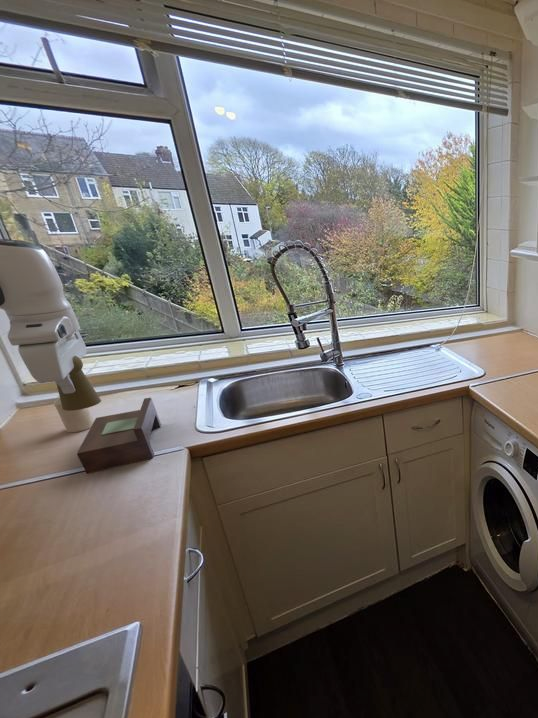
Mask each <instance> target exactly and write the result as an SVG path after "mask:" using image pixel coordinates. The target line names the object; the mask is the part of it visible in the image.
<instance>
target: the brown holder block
mask: <svg viewBox="0 0 538 718" xmlns="http://www.w3.org/2000/svg"><path fill="white" fill-rule="evenodd" d="M93 421H94V423H93V424H92V426H91V428H89V429H88V432H87V433H86V435H85V438H84V439H83V441H82V443H81V445H80V447H79V448H78V450H77V452H76V455H77V458H78V460H79V461H80V464H81V465H82V468H83V470H84V472H85V474H90V473H95V472H100V471H104V470H109V469H112V468H116V467H121V466H125V465H130V464H133V463H137V462H142V461H146V460H151V459H154V456H155V453H154V450H153V448H152V445H151V442H150V437H151V434H152V430H154V429H159V428H161V427H162V423H161V421H160V418H159V414H158V412H157V409H156V406H155V403H154V401H153V399H152V397H145V398H143V400H142V404H141V407H140V409H137V410H131V411H125V412H120V413H115V414H110V415H104V416H97V417H95V419H94V420H93Z"/></svg>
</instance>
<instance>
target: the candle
mask: <svg viewBox="0 0 538 718" xmlns="http://www.w3.org/2000/svg"><path fill="white" fill-rule="evenodd" d="M53 405H54V407H55V409H56V411H57V413H58V416H59V418H60V420H61V422H62V424H63V426H64V428H65V430H66V431H67V433H78V432H82V431H86V430H90V428H91V426H92V424H93V423H94V421H95V420H94V418H93V417H92V414H91V411H90V409H89V408H85V409H80V410H73V411H66V410H63V408H62V404H61V400H60V396H59V395H58V396H57V397H56V399H55V400H54V401H53Z"/></svg>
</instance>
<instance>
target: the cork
mask: <svg viewBox="0 0 538 718" xmlns="http://www.w3.org/2000/svg"><path fill="white" fill-rule="evenodd" d="M73 364H74V368H73V369H72V370H71V371H70V373H69V375H70V377H69V378H70V379H71V381H72V383H73V382H74V383H75V386H76V388H77V389H76V391H75V392H74V393H69V394H64V393H63V392H62V390H61V387H60V386H59V385H58V384H57V383H56V382H55V385H56V387H57V391H58V396H60V400H61V404H62V408H63V410H66V411H73V410H80V409H85V408H88V409H89V408H92V407H94V406H97V405H98V404H99V405H100V403H102V399H101V397H100V396H99V394H98V393H97V392H96V390H95V388H94V386H93V385H92V384H91V381H90V380H89V379H88V377H87V376H86V374H85V372H84V371H83V370H82V369H83V367H84V362H83V360H82V359H80V358H79V357H77V356H74V357H73Z"/></svg>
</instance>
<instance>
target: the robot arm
mask: <svg viewBox="0 0 538 718" xmlns="http://www.w3.org/2000/svg"><path fill="white" fill-rule="evenodd" d="M0 310H3V311H4V312H5V314H6V316H7V318H8V320H9V330H8V333H7V339H8V342H9V343H10V345H11V346H14V347H15V346H17V350H18V353H19V356H20V358H21V359H22V360H21V361H23V364H24V365H25V367H26V369H27V370H28V371H29V374H30V375H31V377H32V378H33V379H34V380H35V381H36V382H38V383H39V384H47V383H55V384H56V383H57V384H58V385H59V386H60V387H61V390H62V392H63V393H64V394H69V393H74V392H75V391H76V389H77V388H76V386H75V383H74V382H73V383H72V381H71V379H70V378H69V377H70V375H69V373H70V371H71V370H72V369H73V368H74V364H73V357H74V356H77V357H79V358H80V359H81V360H82V359H83V358H84V357H85V356H86V355H87V354H88V350H87V346H86V343H85V342H84V339H83V337H82V335H81V333H80V330H81V326H80V324H79V321H78V318H77V315H76V314H75V310H74V309H73V306H72V305H71V303H70V302H69V300H68V299H67V298H66V296H65V294H64V285H63V282H62V279H61V277H60V275H59V273H58V271H57V269H56V267H55V265H54V263H53V262H52V260H51V258H50V257H49V255H48V253H47V252H46V251H45V250H44V248H42V247H41V246H39V245H37V244H36V243H32V242H29V241H25V240H18V239H8V238H0ZM57 384H56V385H57Z"/></svg>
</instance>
